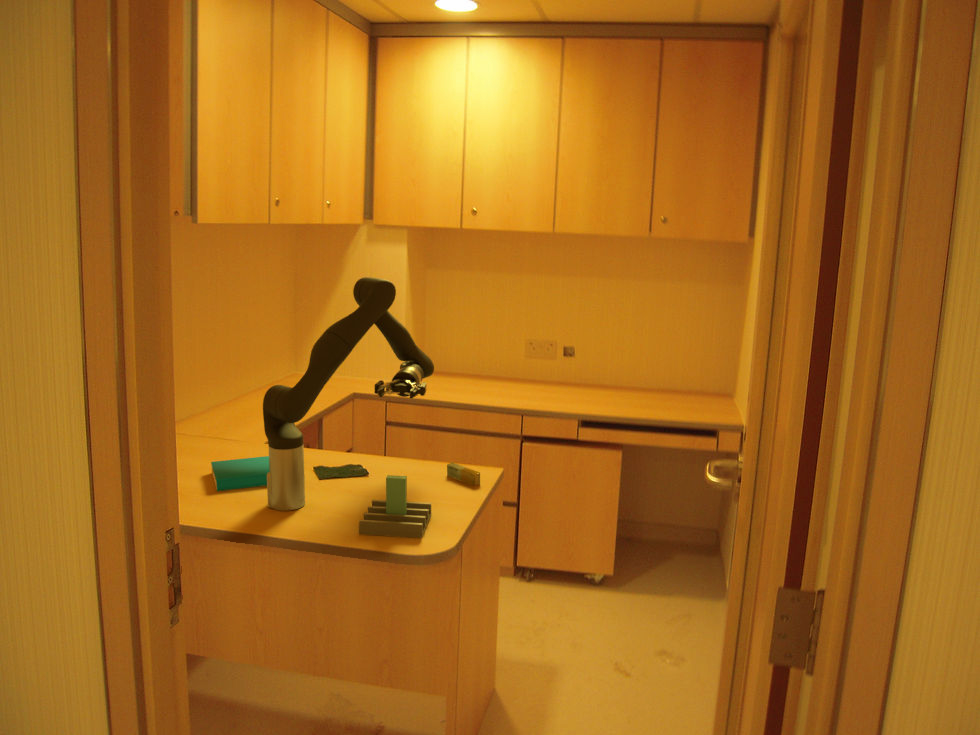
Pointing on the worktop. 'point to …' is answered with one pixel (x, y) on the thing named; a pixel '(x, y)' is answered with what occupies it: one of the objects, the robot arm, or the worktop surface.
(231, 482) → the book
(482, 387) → the worktop surface
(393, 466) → the worktop surface
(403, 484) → the card
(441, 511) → the worktop surface
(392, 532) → the rack
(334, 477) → the worktop surface
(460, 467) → the medication box
